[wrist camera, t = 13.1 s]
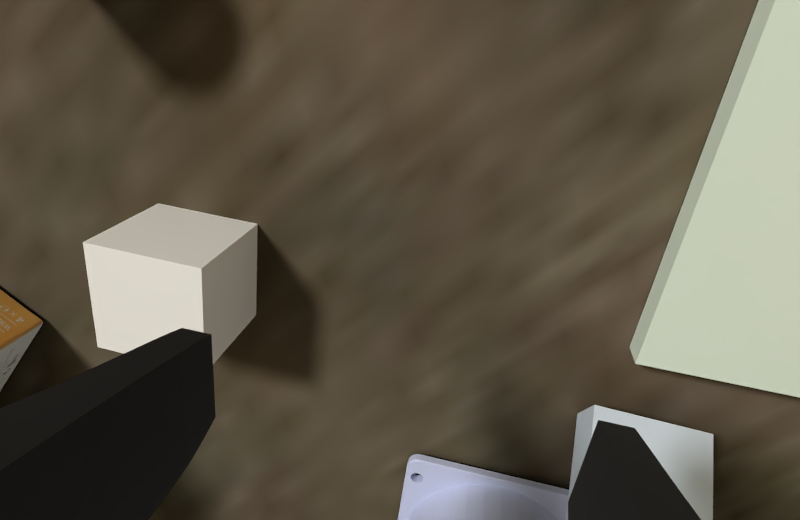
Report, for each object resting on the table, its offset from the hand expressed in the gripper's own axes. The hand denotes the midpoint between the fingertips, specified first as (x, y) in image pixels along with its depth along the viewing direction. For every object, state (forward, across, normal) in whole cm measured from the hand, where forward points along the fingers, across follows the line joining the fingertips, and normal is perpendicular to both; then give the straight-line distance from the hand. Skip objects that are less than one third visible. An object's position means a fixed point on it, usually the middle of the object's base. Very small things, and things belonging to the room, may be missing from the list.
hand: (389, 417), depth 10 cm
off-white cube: (+10, +9, +3) cm, 13 cm away
